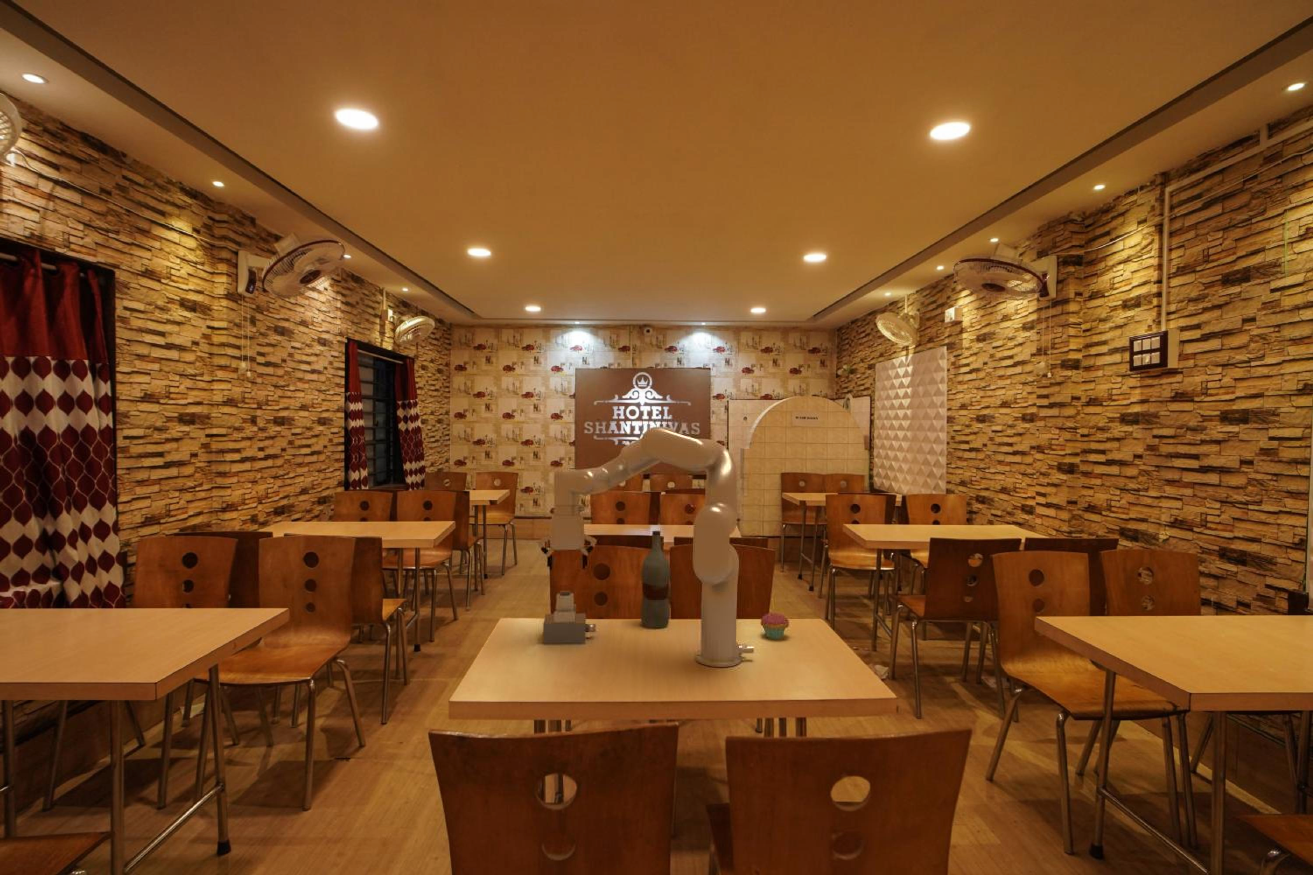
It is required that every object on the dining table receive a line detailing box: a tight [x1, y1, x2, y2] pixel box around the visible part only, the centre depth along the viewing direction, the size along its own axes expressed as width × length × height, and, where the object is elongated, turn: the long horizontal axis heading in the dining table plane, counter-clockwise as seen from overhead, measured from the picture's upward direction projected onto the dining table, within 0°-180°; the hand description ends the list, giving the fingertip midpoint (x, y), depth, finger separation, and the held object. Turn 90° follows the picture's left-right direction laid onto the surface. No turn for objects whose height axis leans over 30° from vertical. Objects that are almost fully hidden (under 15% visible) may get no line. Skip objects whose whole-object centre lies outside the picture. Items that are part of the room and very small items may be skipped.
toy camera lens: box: [555, 590, 575, 611], centre depth 186 cm, size 5×5×8 cm
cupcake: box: [760, 597, 790, 640], centre depth 190 cm, size 9×8×12 cm
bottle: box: [640, 530, 671, 630], centre depth 201 cm, size 9×9×30 cm
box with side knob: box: [542, 604, 597, 646], centre depth 187 cm, size 15×12×9 cm
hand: (567, 568), depth 186 cm, fingers open, 9 cm apart
